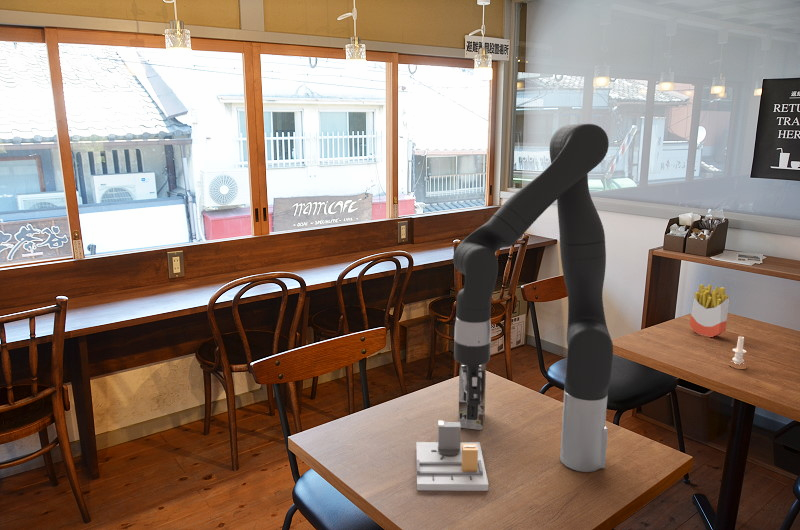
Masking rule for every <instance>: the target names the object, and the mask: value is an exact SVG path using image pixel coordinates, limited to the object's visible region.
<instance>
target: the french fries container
mask: <svg viewBox="0 0 800 530" xmlns="http://www.w3.org/2000/svg"><path fill="white" fill-rule="evenodd" d="M692 303H693V304H692V308H691V312H690V313H691V314H690V322H689V326H690V328H691V329H692V330H693V331H694V332H696V333H699V334H703V335H707V336H710V337H712V338H715V337H718V336H719V335H721V334H723V333H725V332H726V329H727V320H728V314H729V313H728V312H729V304H730V297H729V295H728V294H726V288H725V287H719V286H715V289H712V284H707V286H705V284H699V285H698V291H696V292H694V298H693V302H692ZM696 333H695V334H696ZM699 334H698V335H699ZM703 335H702V336H703ZM714 336H715V337H714Z"/></svg>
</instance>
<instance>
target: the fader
mask: <svg viewBox="0 0 800 530" xmlns="http://www.w3.org/2000/svg"><path fill="white" fill-rule="evenodd" d="M477 465H478V448H477V444H462V471H463V472H477Z"/></svg>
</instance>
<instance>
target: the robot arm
mask: <svg viewBox="0 0 800 530" xmlns="http://www.w3.org/2000/svg"><path fill="white" fill-rule="evenodd" d="M609 141H610V140H609V137H608V134H607V132H606V131H605V130H604V129H603V128H602V127H601V126H600V125H598V124H595V123H588V122H586V123H585V122H584V123H574V124H566V125H562V126H561V127H559V128H557V129H556V130H555V132H554V133H553V134H552V136H551V139H550V141H549V157H550V164H549V166H547V168H545V170H543V171H541V173H540V174H538V176H535V178H534V179H532V180H530V181H529V182H528V183H526V184H525V185H524V186H523V187H521V188H520V189H518V190H517V191H516V192H515V193H513V195H512V196H510V197H509V198H507V200H506V201H505V202H504V203H503V204H502V205H501V206H500V208H498V210H497V211H496V212H494V213H493V215H492V216H491V217H490V219H489V220H487V222H485V223H484V224H482V225H481V226H479V227H478V228H477V229H476V230H474V231H473V232H471V233H470V234H469V235H468V236H466V237H465V238H464V239H463V240H461V242H460V243H459V244H458V245H457V247H456V248H455V250H454V253H453V256H452V263H453V265H454V268H455V269H456V270H457V271H458V272H459V273H460V274H462V275H464V285H463V288H462V289H460V290H459V291H458V293H457V295H456V305H455V306H456V308H455V309H456V310H455V312H456V313H455V323H454V336H453V337H454V339H453V341H454V343H453V344H454V347H453V357H454V360H455V362H457V363H459V364H460V365H461V364H463V365H462V366H461V369H462V379H463V384H464V396H463V398H464V401H466V402H467V419H468V420H477V418H478V405H480V403H481V401H480V391H481V377H482V370H480V365H482V364H485V363H486V364H487V363H488V362H490V359H491V345H492V344H491V343H492V324H491V321H492V320H491V316H492V296H493V294H494V290H495V288H496V287H495V286H496V283H497V279H498V276H499V275H498V274H499V261H498V257H497V255H496V252H498V251H499V250H500V249H503V248H510V247H512V246H513V245H514V244H515V243H516V242H518V240H519V239H520V238H521V237H522V236H523V235H524V234H525V233H526V232H527V230H528V229H530V228H531V226H532V225H533V224H534V223H535V222H536V221H537V219H538V218H540V217H541V216H542V214H543V213H544V212H545V211H546V210H547V209H548V208H549V207H551V205H552V204H554V203H555V201H556V203H557V219H558V230H559V231H558V232H559V251H560V253H559V254H560V261H561V269H562V275H563V280H564V284H565V288H566V293H567V305H568V307H567V328H566V344H567V356H566V357H567V358H566V369H565V370H566V373H565V378H564V386H563V387H564V389H563V404H562V418H561V419H562V421H561V423H562V424H561V438H560V451H559V452H560V455H559V461H560V462H561V464H563V465H564V466H565V467H567V468H568V469H571V470H572V471H573V470H574V471H577V472H583V473H589V472H590V473H591V472H595V471H597V470H600V469H606V461H607V460H606V459H607V450H608V449H607V448H608V435H609V434H608V433H609V430H608V429H609V428H608V427H607V426H606V422H607V421H606V420H607V408H608V407H607V406H608V405H607V404H608V396H609V395H608V394H609V387H610V384H611V378H612V377H611V376H612V370H613V369H612V368H613V358H614V344H613V340H612V337H611V335H610V331H609V329H608V326H607V319H606V316H605V308H604V301H603V300H604V299H603V291H604V290H603V289H604V282H605V276H606V269H607V268H606V266H607V248H606V235H605V229H604V225H603V223H602V220H601V218H600V215H599V212H598V210H597V207H596V206H595V205H594V202H593V198H592V196H591V193H590V189H589V178H588V177H589V175H588V174H589V173H591V171H593V170H594V169H595V168H596V167H597V166H599V165H600V164H601V163H602V162H603V160H604V159H605V157H606V156H607V153H608V151H609V146H610V145H609ZM474 394H476V398H474Z"/></svg>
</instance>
